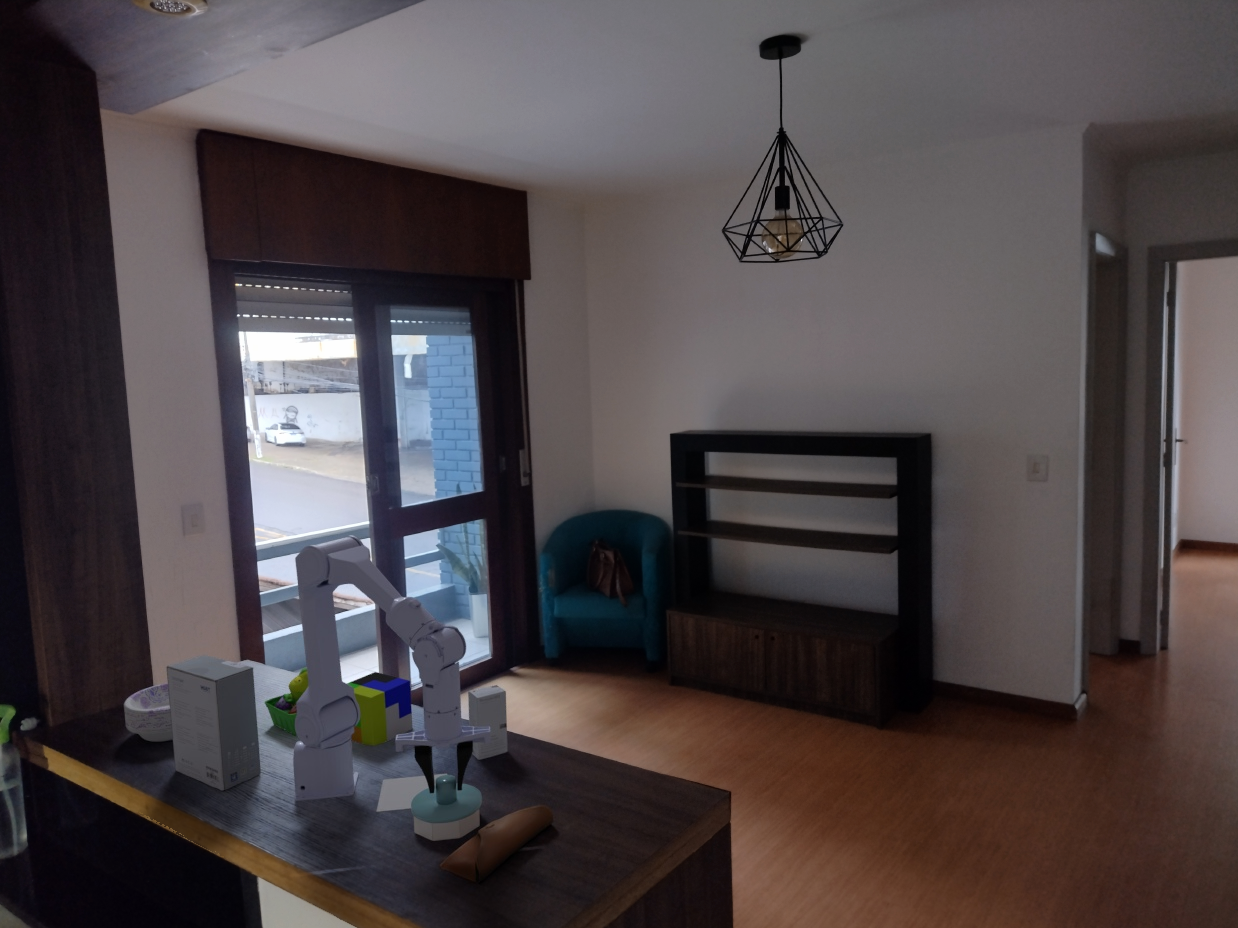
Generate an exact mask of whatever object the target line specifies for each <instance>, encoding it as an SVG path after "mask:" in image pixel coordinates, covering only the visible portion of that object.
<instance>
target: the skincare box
mask: <svg viewBox="0 0 1238 928" xmlns="http://www.w3.org/2000/svg"><path fill="white" fill-rule="evenodd" d="M467 692H468V693H467V694H468V695H467V697H468V723H469V724H468V726H473V727H490V733H491V743H486V744H485V743H484V742H477V743H473V752H472V756H473V757H474V758H476V759H477V760H478V761H479V760H483V759H487V758H488V759H489V758H491V757H495V756H499V755H502V754H505V753H508V726H507V725H508V723H507V722H508V721H507V692H506V690H505V689H504V688H502V687H501V686H499V685H497V684H496V685H490V686H483V687H480V688H476V689H473V690H468V691H467Z"/></svg>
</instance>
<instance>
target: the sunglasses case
mask: <svg viewBox="0 0 1238 928" xmlns="http://www.w3.org/2000/svg"><path fill="white" fill-rule="evenodd" d="M553 823H554V814H553V811H552V810H551V808H550V807H548V806H547V805H544V804H538V805H534V806H533V805H532V806H529V807H525V808H522V809H519V810H517V811H514V812H512V813H508V814H506V815H504V816H502V817H500V818H499V819H495V820H493V821H491V822H489V823H488V824H486V825H485V826H483V827H482V828H480V829H478V831H477V833H476V835H474V836H473V837H472V838H470V839H469V840H467V841H466V842H465V843H464V844H462V845H460V847H458V848H457V849H456V850H454V851H453V852H452V853H450V854H449V855H448V857H446V858H445V859H444V860H443V861H442V862H441V863H440V864H439V869H441V870H445V871H448V872H450V873H453V874H455V875H457V876H460V877H462V878H464V879H467V880H469V881H471V882H474V883H476V885H478V884H479V883H481V881H484V880H485V879H486V878H488V877H489V876H490V875H491V874H492V873H493V872H494V871H495V870H496V869H497V868H498V867H499V866H500V865H502V864H503V863H504V862H505V861H506V860H508V858H510V856H511V855H514V853H516V852H517V851H519V850H520V849H521V848H522V847H523V846H524V845H526V844H527V843H528V842H529V841H531V840H532V839H534V838H535V837H536V836H537V835H538V834H540V833H541V832H542V831H544V830H545V829H546V828H548V827H549V826H551V825H552V824H553Z"/></svg>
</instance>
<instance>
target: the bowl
mask: <svg viewBox="0 0 1238 928" xmlns="http://www.w3.org/2000/svg"><path fill="white" fill-rule="evenodd" d="M480 819H481V818H480V808H479V809H478V810H477V811H476V812H475V813H474V814H472V815H470V816H468V817H466V818H464V819H461V820H458V821H454V822H449V823H429V822H425V821H422V820H419V819H417V818H416V817H415V816H414V815H413V831H414V834H417V835H419V836H421V837H423V838H425V839H427V840H430V841H434V842H436V841H443V840H452V839H453V840H454V839H460V838H463V837H464V836H466V835H467V834H469V833H470V832H472V831H474V830H475V829H477V828H478V827H480Z"/></svg>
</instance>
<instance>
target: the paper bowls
mask: <svg viewBox="0 0 1238 928" xmlns="http://www.w3.org/2000/svg"><path fill="white" fill-rule="evenodd" d="M123 710H124V720H125V727H126V729H127V730H128V731H129V732H130V733H133V734H135V735H137V734H138V735H139V736H140V737H141V738H142V739H143V740H145V741H149V742H155V743H157V742H161V743H162V742H168V741H173V738H172V726H171V715H170V703H169V691H168V682H166V683H161V684H156V685H153V686H150V687H147V688H143V689H140V690H139V691H137V692H135V693H133V694H131V695H130V696H128V698H126V699H125V701H124V703H123Z"/></svg>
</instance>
